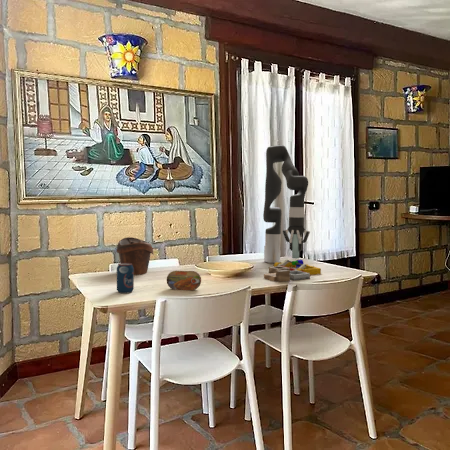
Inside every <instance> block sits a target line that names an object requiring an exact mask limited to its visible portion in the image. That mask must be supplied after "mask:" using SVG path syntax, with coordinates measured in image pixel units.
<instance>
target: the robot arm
mask: <svg viewBox="0 0 450 450" xmlns="http://www.w3.org/2000/svg"><path fill="white" fill-rule="evenodd" d="M265 160H266V161H265V162H266V163H265V164H266V174H265V184H264V185H265V186H264V190H265V191H264V193H265V194H264V205H263V212H262V213H263V214H262V215H263V216H262V217H263V222H265V223H273V224H274V225H273V226H271V227H268V228H266V229H265V237H264V239H265V240H264V241H265V242H264V243H265V244H264V249H263V251H264V252H263V256H264V257H263V261H264V262H266V263H269V264H275V263H276V262H278V263H281V239H282V238H281V233H282V234H283V237H284V239H285V241H286V242H287V243H289V246H288V247H289V248H288V249H289V250H290V251H291V252H292V240H293V234H297V236H298V240H299V252H301V251H303V244H304V243H307V240H308V239H309V236H310V233H311V231H309V230H306V229H305V198H306V194H307V190H308V187H309V179H308V178H307V177H306V176H305V175H300V173H299V171H298V169H297V168H296V166H295V165H294V163H293V161H292V158H291V156H290V154H289V151H288V149H287V147H286V146H285V145H284V144H278V145H271V146H270V145H269V146H268V147H266V151H265ZM282 162H283V163H282ZM274 163H275V164H276V163H282V164H281V173H282V175H283V177H284V178H285V181H286V182H285V183H286V187H287V189H289V190H290V191H298V192H297V194H293V195H290V198H289V211H288V228H287V229H283V230H282V226H281V225H282V208H281V207H279V206H278V207H277V206H275V207H274V206H273V207H272V204H273V202H274V201H275V200H276V199H277V198H278V197H279V196H280V195H281V192H282V183H283V182H282V179H281V177H280V176H279V174H278V173H277V171H276V170H275V168H274ZM281 230H282V232H281ZM289 234H290V236H289ZM303 234H304V237H303Z"/></svg>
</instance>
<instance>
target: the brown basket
mask: <svg viewBox="0 0 450 450" xmlns="http://www.w3.org/2000/svg"><path fill="white" fill-rule="evenodd" d="M116 253H117V254H118V257H119V261H120V262H119V263H132V266H133V268H134V276H135V275H136V276H137V275H145V274H147V273H148V271H149V266H150V265H149V264H150V260H151V255H153V256H154V249H153V246H152V244H151V243H149V242H147V241H145V240H143V239H140V238H136V237H130V236H129V237H124V238H121V239H120V240H119V241H118V243H117V246H116Z"/></svg>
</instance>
